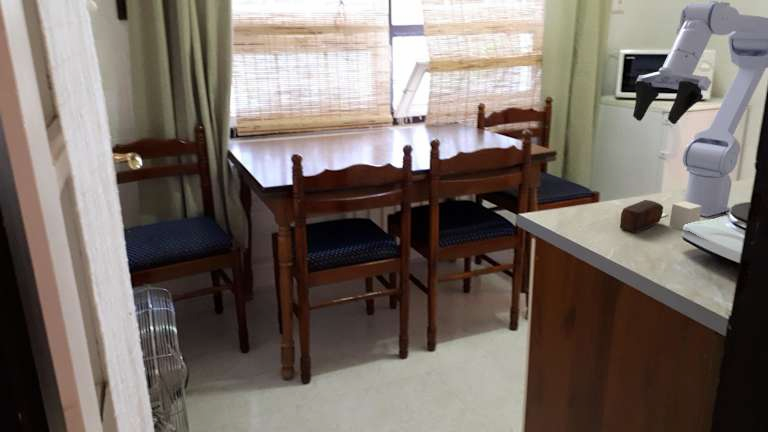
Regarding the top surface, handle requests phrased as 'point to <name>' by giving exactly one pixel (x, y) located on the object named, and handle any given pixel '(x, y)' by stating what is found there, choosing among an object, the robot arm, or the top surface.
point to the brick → (641, 215)
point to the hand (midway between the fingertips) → (653, 119)
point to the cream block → (684, 214)
